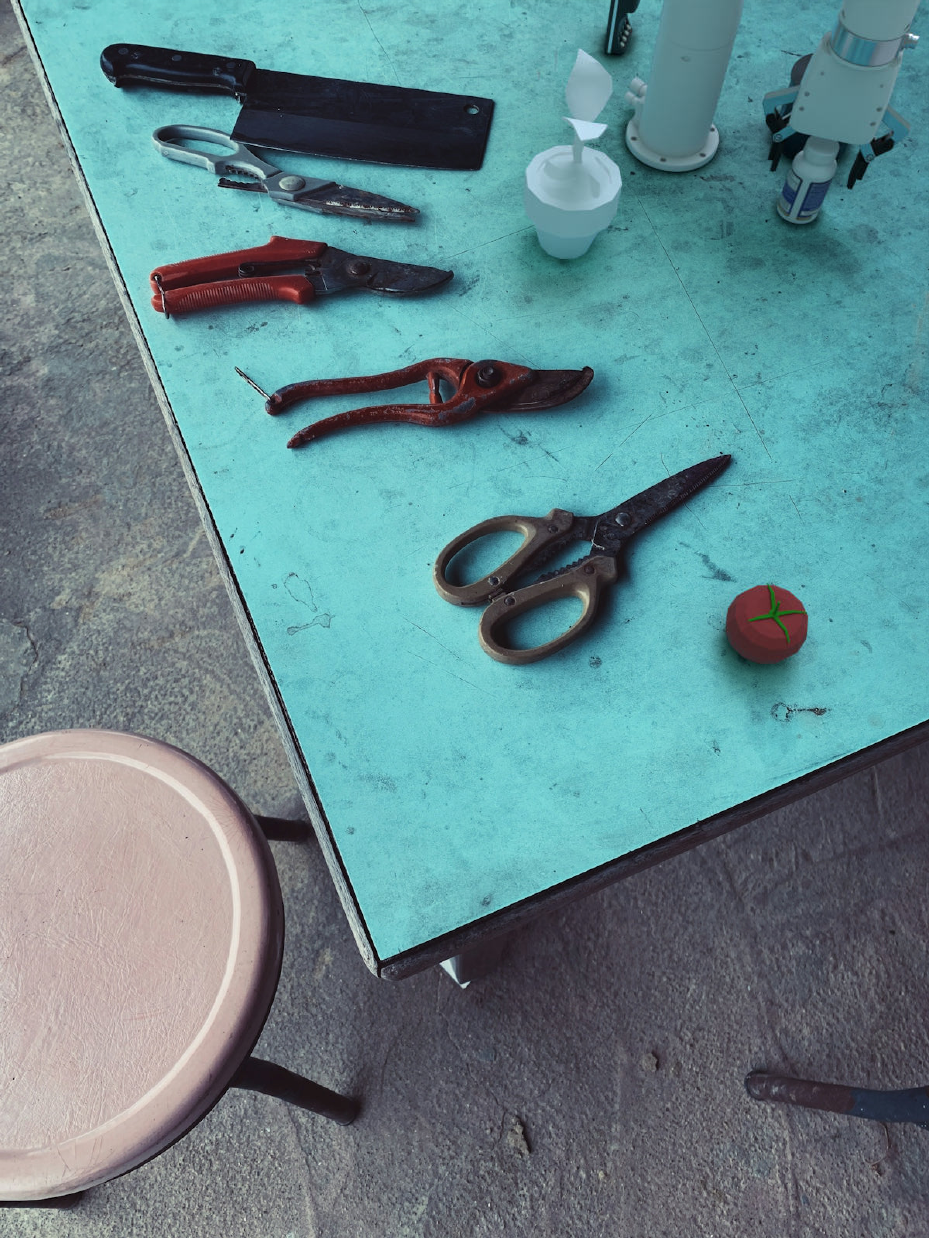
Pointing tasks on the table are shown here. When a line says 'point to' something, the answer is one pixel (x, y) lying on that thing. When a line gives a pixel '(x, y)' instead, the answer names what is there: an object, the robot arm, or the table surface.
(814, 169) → the pill bottle
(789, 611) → the tomato
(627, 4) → the battery charger
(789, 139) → the pot
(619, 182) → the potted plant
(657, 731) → the table surface
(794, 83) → the pot lid
